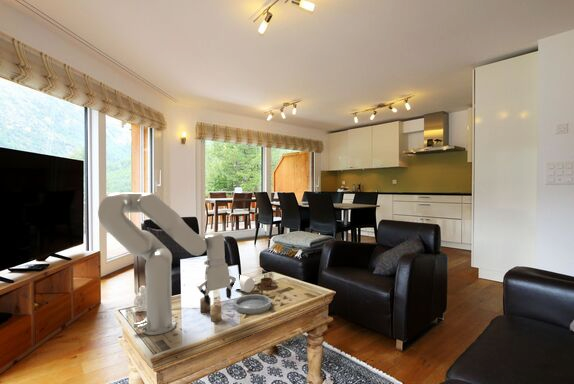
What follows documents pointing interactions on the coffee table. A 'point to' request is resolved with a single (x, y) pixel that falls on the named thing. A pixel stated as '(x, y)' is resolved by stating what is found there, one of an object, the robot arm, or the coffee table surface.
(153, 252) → the robot arm
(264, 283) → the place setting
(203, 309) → the walnut bead
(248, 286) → the mug
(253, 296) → the dish
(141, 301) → the koala figurine
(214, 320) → the oak bead
